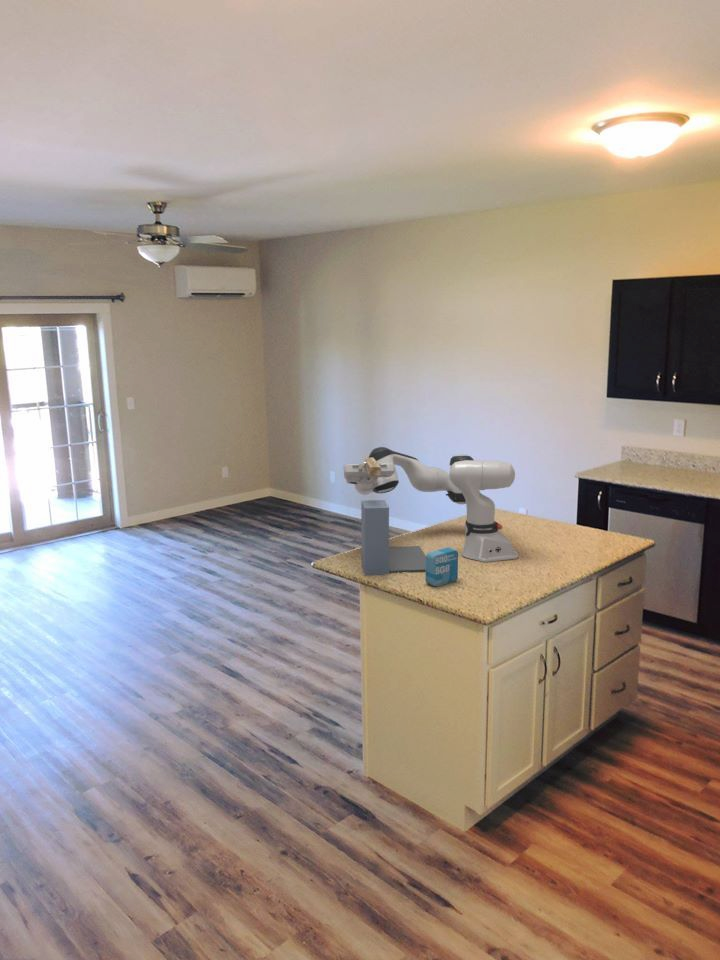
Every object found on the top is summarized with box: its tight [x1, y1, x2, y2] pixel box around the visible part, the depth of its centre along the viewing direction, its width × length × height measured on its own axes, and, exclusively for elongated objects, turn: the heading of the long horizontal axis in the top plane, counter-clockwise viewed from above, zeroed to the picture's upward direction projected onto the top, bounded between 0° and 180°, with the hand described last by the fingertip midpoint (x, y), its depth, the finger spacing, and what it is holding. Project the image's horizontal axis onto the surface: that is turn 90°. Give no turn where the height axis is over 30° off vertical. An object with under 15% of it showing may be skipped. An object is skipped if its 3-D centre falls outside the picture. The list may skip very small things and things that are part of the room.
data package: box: [424, 547, 459, 587], centre depth 272 cm, size 12×4×12 cm, turn 126°
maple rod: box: [363, 457, 380, 477], centre depth 285 cm, size 4×20×4 cm, turn 6°
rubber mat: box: [389, 545, 426, 574], centre depth 299 cm, size 17×30×1 cm, turn 6°
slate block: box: [360, 499, 390, 577], centre depth 284 cm, size 9×12×26 cm
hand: (370, 463), depth 288 cm, fingers closed on maple rod, 3 cm apart
